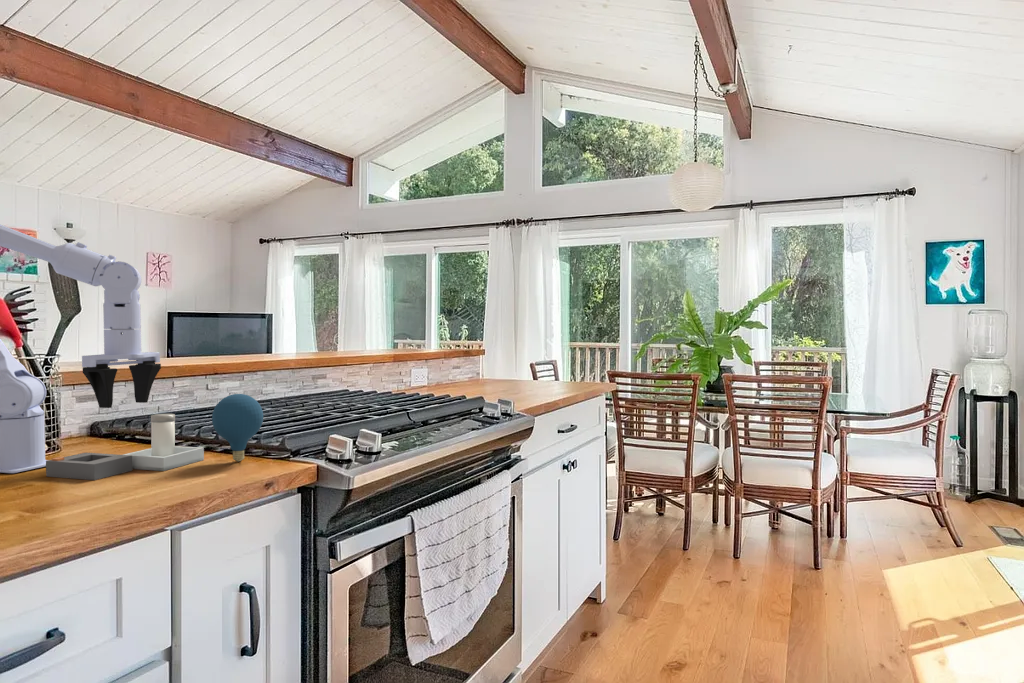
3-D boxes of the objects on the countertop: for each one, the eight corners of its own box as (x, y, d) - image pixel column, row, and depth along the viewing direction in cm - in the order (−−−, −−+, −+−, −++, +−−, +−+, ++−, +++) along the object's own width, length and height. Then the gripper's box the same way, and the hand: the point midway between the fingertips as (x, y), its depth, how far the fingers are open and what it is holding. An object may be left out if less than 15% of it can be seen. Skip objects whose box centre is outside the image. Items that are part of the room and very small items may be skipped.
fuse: (146, 462, 111) (145, 416, 111) (161, 458, 115) (161, 413, 114) (164, 463, 110) (164, 417, 110) (180, 459, 114) (179, 414, 114)
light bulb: (245, 467, 109) (244, 396, 109) (201, 465, 111) (200, 396, 111) (273, 457, 117) (272, 391, 117) (232, 455, 119) (231, 391, 119)
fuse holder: (46, 476, 104) (45, 459, 103) (86, 467, 110) (85, 450, 110) (94, 480, 101) (94, 462, 101) (132, 470, 108) (132, 453, 107)
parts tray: (121, 467, 109) (120, 455, 109) (163, 457, 118) (163, 445, 118) (163, 470, 107) (163, 457, 107) (203, 459, 116) (203, 447, 116)
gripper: (104, 329, 107) (106, 410, 108) (172, 328, 121) (173, 400, 122) (71, 329, 109) (73, 409, 110) (142, 329, 123) (143, 399, 124)
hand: (124, 405), depth 116 cm, fingers open, 7 cm apart
